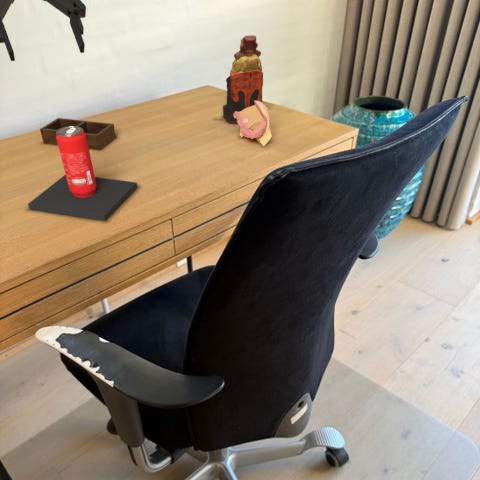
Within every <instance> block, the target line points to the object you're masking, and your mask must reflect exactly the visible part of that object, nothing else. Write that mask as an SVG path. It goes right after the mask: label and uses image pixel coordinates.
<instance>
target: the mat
mask: <svg viewBox="0 0 480 480" xmlns="http://www.w3.org/2000/svg"><path fill="white" fill-rule="evenodd" d="M95 180H96V185H97V187H96V193H95V194H94V195H92V196H90V197H86V198H78V197H75V196H73V194H72V192H71V191H70V190H69V186H68V182H67V178H66V174H65V173H64V175H62V176H61V177H60V178H59V179H58V180H57V181H55V182H54V183H53V184H52V185H50V186H49V187H47V188H46V189H45V190H43V192H41V193H40V194H39V195H37V196H36V197H35V198H34V199H32V200H31V201H29V203H27V206H28V209H29V211H37V212H43V213H48V214H49V213H50V214H56V215H62V216H70V217H76V218H82V219H88V220H95V221H96V220H97V221H102V222H106V221H107V220H108V219H109V218H110V217H111V216H112V215H113V214H114V213H115V212H116V211H117V210H118V209H119V208H120V207H121V205H122V204H123V203H124V202H125V201H126V200H128V198H129V197H131V195H133V193H134V192H135V191H136V190H137V189H138V182H135V181H128V180H120V179H112V178H105V177H98V176H95Z"/></svg>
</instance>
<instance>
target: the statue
mask: <svg viewBox="0 0 480 480" xmlns="http://www.w3.org/2000/svg"><path fill="white" fill-rule="evenodd" d="M258 46H259V44H258V42H257V35H251V34H250V35H244V36H243V37H242V38H240V44H239V50H238V51H237V52H235V53H234V54H233V57H234V60H233V61H232V64H231V69H230V71H229V76H228V77H226V79H225V82H226V103H225V104H223V105H222V117H223V119H224V120H225V121H226V122H227V123H229V124H238V123H237V119H236V118H234V115H233V114H234V112H235V111H236V112H240V111H242V110H244V109H245V108H248V107H251V106H253V105H255V103H254V101H260V102H262V103H263V86H264V72H263V66H262V61H261V59H260V56H261V55H262V51H260V50H258V49H257V48H258Z"/></svg>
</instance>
